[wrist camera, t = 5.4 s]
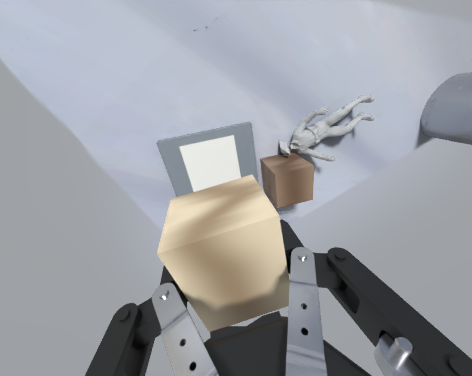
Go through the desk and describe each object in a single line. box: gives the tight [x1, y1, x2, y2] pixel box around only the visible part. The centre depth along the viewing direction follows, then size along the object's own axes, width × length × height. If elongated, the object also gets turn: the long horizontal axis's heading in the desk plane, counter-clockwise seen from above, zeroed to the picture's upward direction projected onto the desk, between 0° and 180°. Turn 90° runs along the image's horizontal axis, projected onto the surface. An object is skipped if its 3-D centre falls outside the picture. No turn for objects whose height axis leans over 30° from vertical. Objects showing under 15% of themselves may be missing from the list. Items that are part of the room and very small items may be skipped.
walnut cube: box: [260, 152, 314, 208], centre depth 26 cm, size 5×5×6 cm
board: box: [157, 122, 259, 197], centre depth 26 cm, size 12×11×1 cm
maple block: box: [157, 175, 290, 332], centre depth 13 cm, size 6×8×5 cm
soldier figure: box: [279, 95, 374, 161], centre depth 25 cm, size 8×5×12 cm
